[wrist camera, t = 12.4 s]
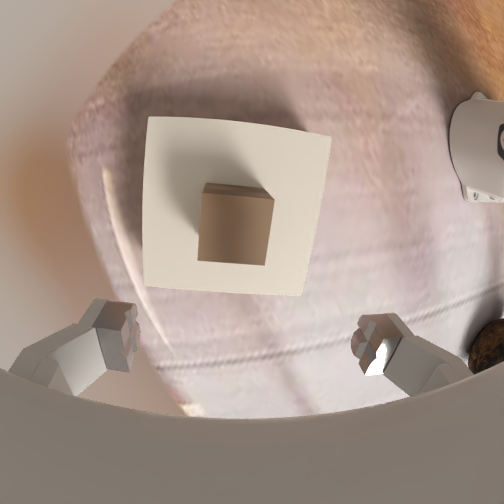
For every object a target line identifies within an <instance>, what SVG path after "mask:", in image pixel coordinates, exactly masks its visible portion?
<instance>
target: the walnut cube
mask: <svg viewBox="0 0 504 504" xmlns="http://www.w3.org/2000/svg"><path fill="white" fill-rule="evenodd" d="M274 202H275V200H274V198H273V197H272V196H271V195H270V194H269V193H268V192H267V191H266V190H265V189H264V188H257V187H248V186H238V185H227V184H216V183H206V184H205V187H204V189H203V192H202V199H201V212H200V225H199V241H198V258H197V261H207V262H221V263H234V264H248V265H263V266H265V261H266V254H267V248H268V241H269V235H270V229H271V222H272V215H273V209H274Z"/></svg>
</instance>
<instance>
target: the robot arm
mask: <svg viewBox="0 0 504 504" xmlns="http://www.w3.org/2000/svg"><path fill="white" fill-rule="evenodd" d="M450 151H451V157H452V161H453V165H454V168H455V170H456V173H457V175H458V177H459V179H460V181H461V184H462V190H463V196H464V199H465V200H466V201H469V202H504V101H497V100H489V99H487V98H486V97H485V96H484V95H483V94H482V93H481V92H475V93H474V94H473V95H472V97H471V99H470V100H467V101H464V102H462V103H461V104H459V106H458V107H457V108H456V110H455V112H454V114H453V117H452V120H451V125H450ZM137 315H138V312H137V306H136V304H134V303H127V302H120V301H113V300H107V299H100V298H96V299H94V300H93V302H92V303H91V305H90V306H89V308H88V309H87V311H86V312H85V314H84V315H83V317H82V318H81V320H80V321H79V323H78V324H72V325H70V326H68V327H66V328H64V329H62V330H60V331H58V332H56V333H54V334H52V335H50V336H48V337H46V338H44V339H42V340H40V341H38V342H36V343H34V344H32V345H30V346H28V347H26V348H24V349H23V350H22V351H21V353H20V354H19V356H18V357H17V359H16V360H15V362H14V363H13V365H12V366H11V368H10V369H9V371H8V372H7V371H5V370H3V369H1V368H0V504H504V361H503V362H501V363H499V364H497V365H495V366H493V367H491V368H489V369H486V370H484V371H482V372H480V373H477V374H475V375H474V374H473V373H472V372H471V371H470V369H469V368H468V367H467V366H466V364H465V363H464V362H463V361H462V360H461V358H459V357H457V356H455V355H453V354H452V353H450V352H448V351H446V350H444V349H442V348H440V347H438V346H436V345H434V344H433V343H431V342H429V341H427V340H425V339H423V338H421V337H419V336H414V334H413V333H412V332H411V331H410V329H409V328H408V327H407V326H406V325H405V323H404V322H403V321H402V320H401V319H400V318H399V316H398V315H397V314H395V313H385V314H371V315H362V316H361V317H360V318H359V321H358V323H357V324H358V327H359V328H358V329H357V330H356V331H355V332H354V333H353V336H352V339H351V349H352V352H353V354H354V356H356V357H357V358H359V359H360V361H359V365H360V367H361V369H362V371H363V373H364V375H373V374H381V373H383V375H384V376H386V377H387V378H388V379H389V380H390V381H392V382H393V383H394V384H395V385H397V386H398V387H399V388H400V389H402V390H403V391H404V392H405V393H407V394H408V395H409V396H410V397H407V398H404V399H400V400H396V401H392V402H388V403H383V404H379V405H374V406H369V407H364V408H359V409H353V410H347V411H341V412H334V413H327V414H319V415H310V416H299V417H286V418H265V419H222V418H202V417H189V416H178V415H168V414H161V413H153V412H147V411H140V410H135V409H129V408H124V407H119V406H113V405H109V404H105V403H100V402H96V401H92V400H88V399H84V398H81V397H77V395H78V394H80V393H81V392H82V391H83V390H84V389H85V388H87V387H88V386H89V385H90V384H91V383H93V382H94V381H95V380H96V379H97V378H98V377H100V376H101V375H102V374H103V373H104V372H105V371H107V369H111V370H117V371H123V372H130V371H131V367H132V364H133V361H134V355H133V352H135V351H136V350H137V349H138V346H139V340H140V327H139V324H138V322H137V321H136V317H137Z"/></svg>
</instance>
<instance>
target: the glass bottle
mask: <svg viewBox="0 0 504 504" xmlns="http://www.w3.org/2000/svg"><path fill="white" fill-rule="evenodd" d="M503 361H504V319H498V320H495V321H493V322H491V323H490V324H488V325H487V326H486V327H485V328H484V329H483V330H482V331H481V332H480V334H479V335H478V337H477V338H476V340H475V341H474V343H473V345H472V348H471V350H470V353H469V358H468V367H469V369H470V371H471V372H472V373H473V374H474V375H475V374H477V373H480V372H482V371H484V370H486V369H489V368H491V367H493V366H495V365H497V364H499V363H501V362H503Z"/></svg>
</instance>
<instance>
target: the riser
mask: <svg viewBox="0 0 504 504" xmlns="http://www.w3.org/2000/svg"><path fill="white" fill-rule="evenodd" d="M331 140H332V137H329V136H325V135H320V134H315V133H310V132H305V131H300V130H294V129H289V128H283V127H277V126H270V125H263V124H256V123H248V122H239V121H230V120H219V119H206V118H190V117H148V126H147V136H146V147H145V160H144V176H143V204H142V243H143V272H144V286H150V287H161V288H172V289H184V290H197V291H211V292H226V293H243V294H262V295H285V296H302V291H303V287H304V283H305V279H306V274H307V270H308V265H309V261H310V256H311V252H312V247H313V242H314V237H315V232H316V227H317V222H318V217H319V212H320V207H321V201H322V196H323V190H324V184H325V178H326V172H327V166H328V160H329V154H330V147H331ZM206 183H216V184H227V185H238V186H248V187H257V188H264V189H265V190H266V191H267V192H268V193H269V194H270V195H271V196H272V197H273V198H274V200H275V202H274V209H273V215H272V222H271V229H270V235H269V241H268V248H267V254H266V261H265V266H263V265H248V264H234V263H221V262H207V261H197V258H198V241H199V225H200V212H201V199H202V192H203V189H204V187H205V184H206Z"/></svg>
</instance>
